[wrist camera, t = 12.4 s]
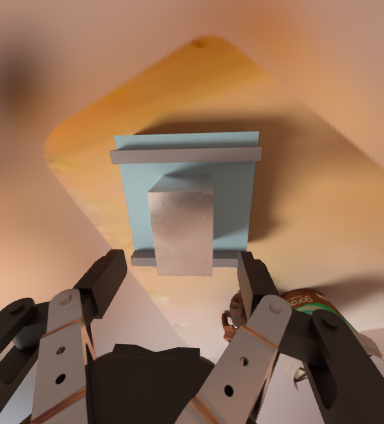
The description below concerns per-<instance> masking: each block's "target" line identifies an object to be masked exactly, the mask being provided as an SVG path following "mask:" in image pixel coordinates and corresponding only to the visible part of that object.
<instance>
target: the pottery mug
mask: <svg viewBox="0 0 384 424" xmlns="http://www.w3.org/2000/svg"><path fill="white" fill-rule="evenodd" d="M230 315H231V318H232V323H233V324H234V325H235V326H236V327H238V328H236V329H235V328H234V326H233V325H229V324H228V320H227V315H226V314H224V313H222V324H223V328H224V330H225V335H224V339H226V340H228V342H229V343H230V342H231V340H232V339H233V337H234V335H235V334H236V332H237V331H238V329H239V328H240V326H241V325H246V324H247V317H246V313H245V308H244V304H243V299H242V295H241V292H239V293H237V294H235V295H234V296H233V298H232V300H231V303H230Z"/></svg>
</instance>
